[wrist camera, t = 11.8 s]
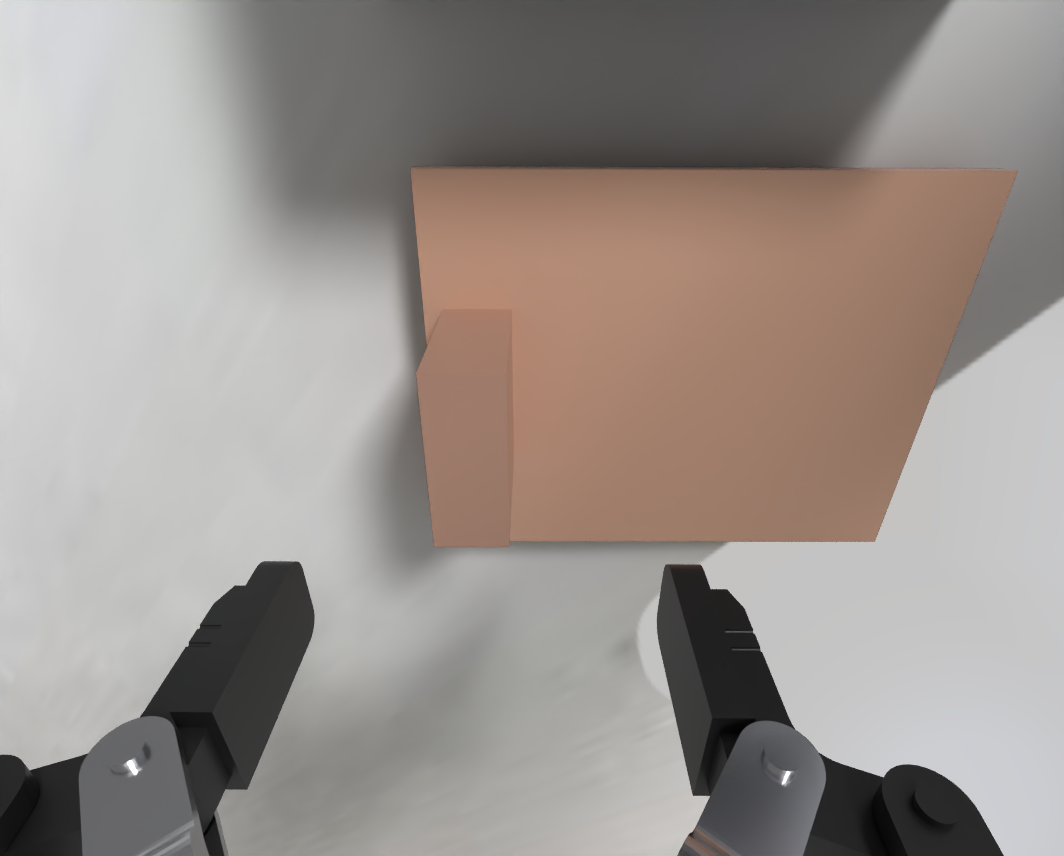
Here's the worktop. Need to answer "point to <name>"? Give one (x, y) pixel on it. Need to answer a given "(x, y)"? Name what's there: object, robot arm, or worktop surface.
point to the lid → (685, 345)
